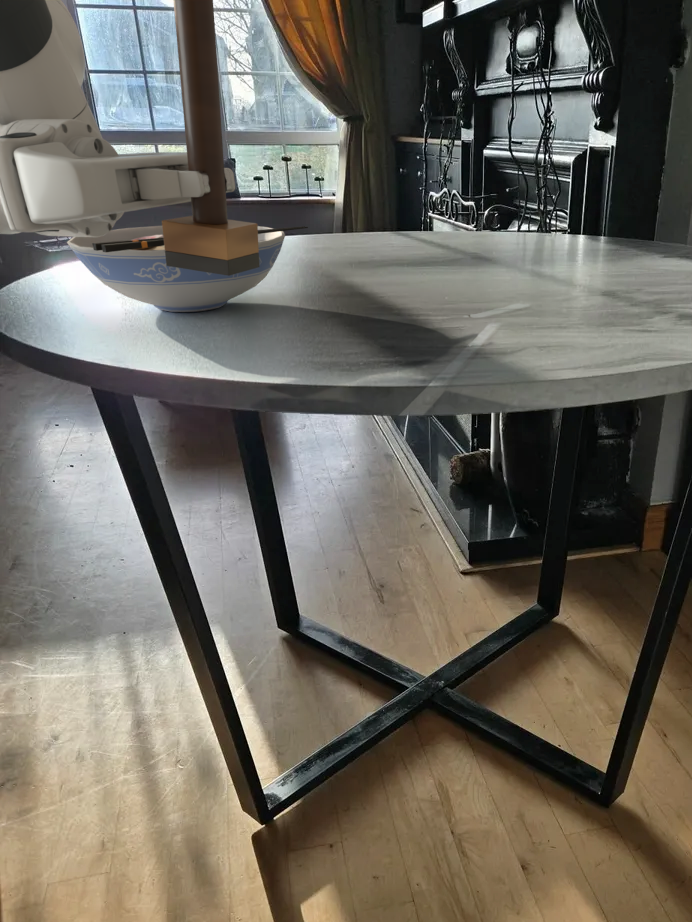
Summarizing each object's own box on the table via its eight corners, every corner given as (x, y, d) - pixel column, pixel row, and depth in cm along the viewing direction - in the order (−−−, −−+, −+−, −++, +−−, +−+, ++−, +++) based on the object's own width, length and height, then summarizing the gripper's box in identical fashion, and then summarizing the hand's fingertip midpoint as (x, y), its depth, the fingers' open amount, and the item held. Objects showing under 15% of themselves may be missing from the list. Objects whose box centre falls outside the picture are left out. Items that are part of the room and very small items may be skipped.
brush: (166, 265, 66) (133, -38, 55) (199, 257, 70) (175, -26, 59) (229, 276, 64) (208, -33, 53) (259, 267, 68) (245, -22, 57)
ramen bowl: (227, 280, 103) (217, 212, 99) (341, 303, 90) (335, 224, 85) (37, 309, 87) (16, 229, 83) (141, 342, 74) (122, 248, 70)
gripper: (148, 209, 76) (277, 213, 73) (-4, 234, 60) (156, 240, 57) (134, 135, 73) (269, 135, 70) (-31, 138, 56) (137, 139, 53)
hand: (218, 182), depth 63 cm, fingers closed on brush, 3 cm apart
